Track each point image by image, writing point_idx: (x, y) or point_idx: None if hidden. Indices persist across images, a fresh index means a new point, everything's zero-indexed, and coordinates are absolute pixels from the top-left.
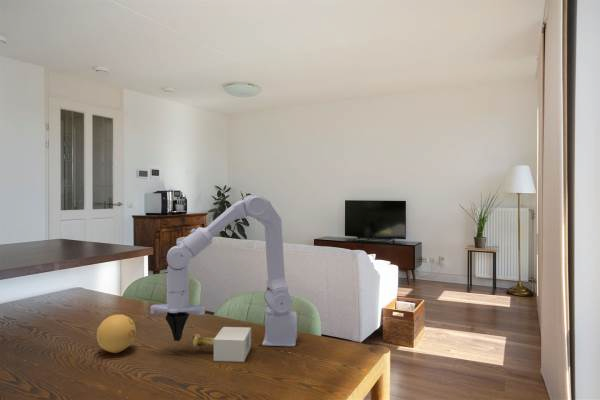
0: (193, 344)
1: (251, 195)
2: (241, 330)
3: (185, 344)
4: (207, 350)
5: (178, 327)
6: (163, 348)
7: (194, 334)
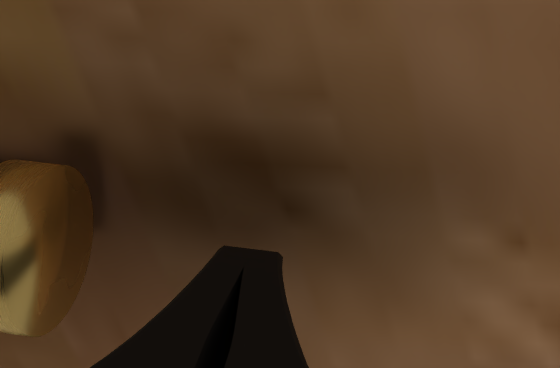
0: (29, 171)
1: None
2: None
3: None
4: None
5: (151, 357)
6: (425, 291)
7: (6, 302)
